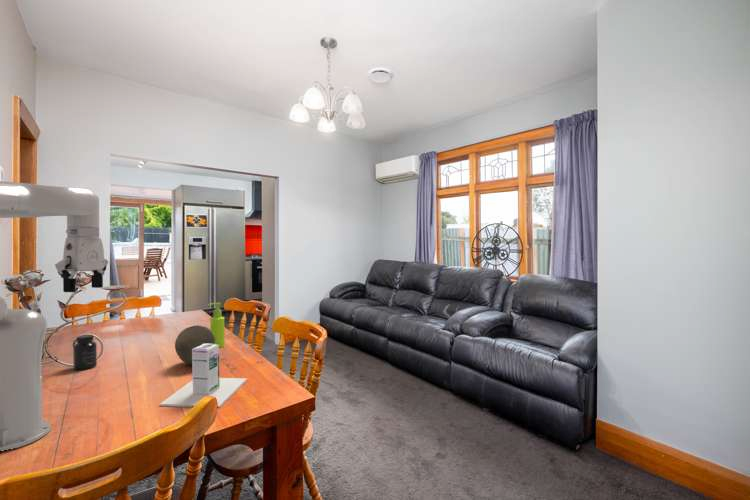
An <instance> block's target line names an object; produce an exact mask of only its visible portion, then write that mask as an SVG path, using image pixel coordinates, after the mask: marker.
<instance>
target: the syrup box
mask: <svg viewBox="0 0 750 500" xmlns="http://www.w3.org/2000/svg"><path fill="white" fill-rule="evenodd" d="M191 365H192V366H191V367H192V369H191V370H192V380H193V393H195V394H204V395H209V394H210V393H212V392H213V391H215V390H216V389H218V388H219V387H220V383H219V378H220V348H219V344H212V343H206V344H202V345H200V346H198V347H196V348H193V349H192V364H191Z"/></svg>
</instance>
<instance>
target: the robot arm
mask: <svg viewBox="0 0 750 500" xmlns="http://www.w3.org/2000/svg"><path fill="white" fill-rule="evenodd" d="M41 217H43V218H44V217H66V229H65V230H66V231H65V233H66V238H65V242H64V247H63V258H62V259H61V260H60V261H58V262H57V263H55V265H54V267H55V269H56V271H57V273H58V275H59V276H60V278H61V279H62V285H63V286H62V287H63V288H62V289H63V292H64V293H76V292H77V291H76V290H77V284H76V283H77V282H76V281H77V279H76V278H74V277H76V275H77V273H78V272H91V273H92V274H91V288H92V289H93V288H94V289H95V288H97V289H98V288H99V289H101V288H103V287H104V278H103V276H104V275H105V271H106V270H107V268H108V267H107V266H108V265H109V260H108V259H105V251H104V245H103V241H102V238H100V198H99V196H98V195H97V194H96V193H95V192H94V191H92V190H90V189H88V188H78V187H67V186H56V185H55V186H54V185H45V184H44V185H43V184H35V183H25V182H15V181H2V180H0V219H7V218H8V219H9V218H10V219H11V218H12V219H13V218H15V219H16V218H17V219H18V218H20V219H21V218H41ZM47 328H48V323H47V320H46V318H45V317H44V315H43V314H42V313H40V312H38V311H36V310H31V309H27V308H8V304H7V302H6V301H5V299H4V298H3V297H2V296H0V451H2V450H3V451H2V452H5V451H4V450H7V451H9V450H8V449H11V450H14V448H15V449H18V448H22V447H24V446H27V445H29V444H32V443H33V442H36V441H38V440H40V439H43V437H45V436H46V435H47V434H48V433H49V432H51V431H50V430H51V428H52V427H51V426H52V425H51V423H50V422H49V421H46V420H43V396H42V395H43V393H42V391H43V389H42V387H43V386H42V385H43V383H42V381H43V380H42V378H43V376H42V375H43V374H42V371H43V370H42V369H43V368H42V361H43V360H42V353H43V346H44V341H45V337H46V334H47V333H46V332H47Z"/></svg>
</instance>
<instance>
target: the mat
mask: <svg viewBox="0 0 750 500" xmlns="http://www.w3.org/2000/svg"><path fill="white" fill-rule="evenodd" d="M247 381H248V378H245V377H244V378H242V377H241V378H240V377H239V378H238V377H236V378H235V377H219V383H220V387H219V388H218V389H216V390H215V391H213V392H212V393H210V394H209V395H204V394H195V393H193V379H191V381H189V382H188V383H186V384H185V385H184V386H182V387H181V388H180V389H178V390H177V391H175V392H173V394H171V395H169V397H167V398H166V399H164V400H163V401H161V402H160V403H159V407H178V408H179V407H180V408H181V407H184V408H185V407H186V408H187V407H188V408H194V407H193V406H194V405H195V404H196V403H197V402H198V401H200V400H201V399H202V398H203V397H205V396H213V397H216V399H217V402H218V408H219V409H220V408H222V407H223V406H224V404H225V403H226V402H227V401H228V400H229V399H231V397H232V396H234V394H235V393H236V392H237V391H238V390H239V389H241V387H242V386H243V385H244V384H245V383H247Z"/></svg>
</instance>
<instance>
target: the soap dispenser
mask: <svg viewBox="0 0 750 500" xmlns="http://www.w3.org/2000/svg"><path fill="white" fill-rule="evenodd" d="M221 304H222V303H221V302H211V303H207V305H208V306H215V309H214V310H213V316H212V317H211V318H210V328H209V329H210V330H211V331H212V333H213V334H214V337H215V344H219V347H220V348H224V347H225V333H226V332H225V318H226V317H225V316H222V315H223V314H222V311H223V310H222V309H221Z"/></svg>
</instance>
